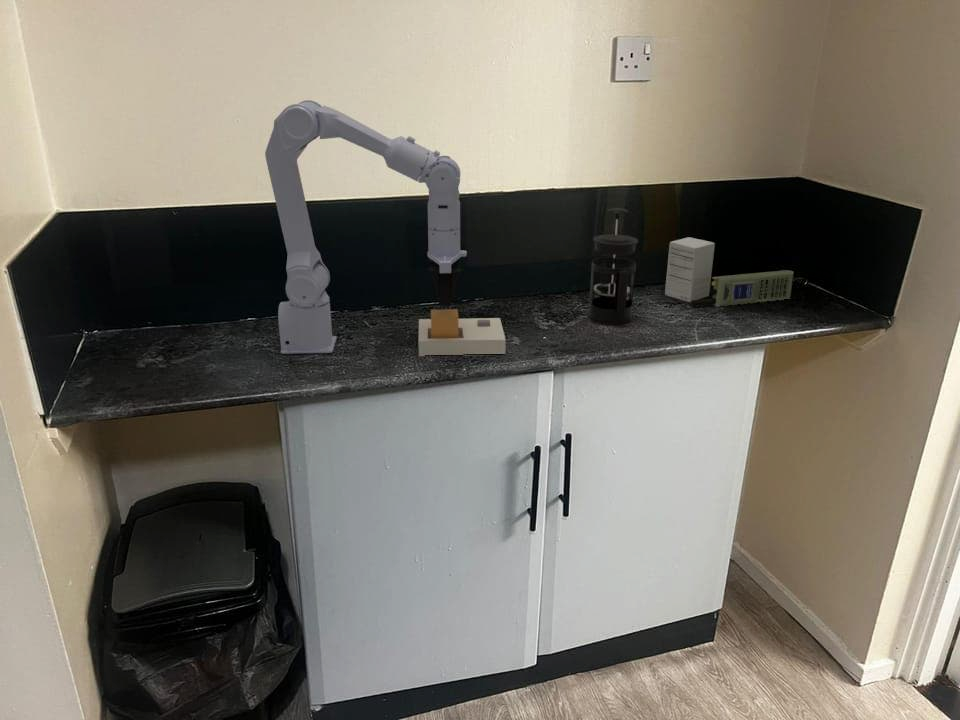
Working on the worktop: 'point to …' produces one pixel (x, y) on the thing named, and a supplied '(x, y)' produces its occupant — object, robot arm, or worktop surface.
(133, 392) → the worktop surface
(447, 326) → the plug
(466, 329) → the socket
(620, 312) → the french press
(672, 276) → the grey drawer unit
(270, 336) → the worktop surface
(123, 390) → the worktop surface
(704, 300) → the handheld radio
